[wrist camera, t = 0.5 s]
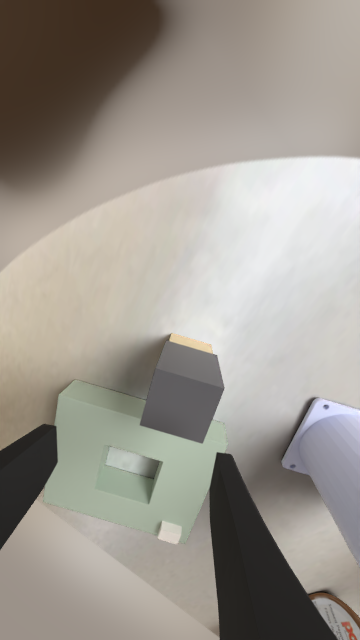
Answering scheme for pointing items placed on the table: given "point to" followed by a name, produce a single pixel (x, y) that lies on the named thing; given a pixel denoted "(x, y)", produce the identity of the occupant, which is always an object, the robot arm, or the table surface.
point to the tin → (337, 616)
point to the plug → (184, 389)
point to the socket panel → (121, 486)
